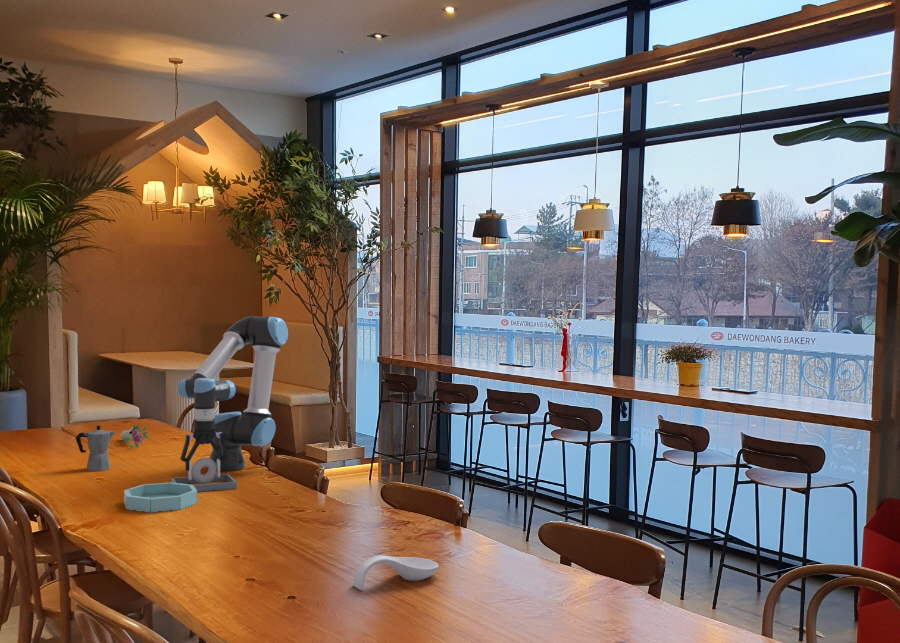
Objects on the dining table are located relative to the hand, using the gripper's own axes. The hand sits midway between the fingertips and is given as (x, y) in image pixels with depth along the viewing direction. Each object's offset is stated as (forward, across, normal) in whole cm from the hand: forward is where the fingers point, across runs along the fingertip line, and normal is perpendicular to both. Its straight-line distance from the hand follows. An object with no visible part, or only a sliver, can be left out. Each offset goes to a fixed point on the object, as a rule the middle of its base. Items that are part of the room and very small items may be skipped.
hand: (204, 477), depth 314 cm
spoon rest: (+3, +27, -124) cm, 127 cm away
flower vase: (+4, -16, +98) cm, 99 cm away
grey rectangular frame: (+3, 0, 0) cm, 3 cm away
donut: (+2, 0, 0) cm, 2 cm away
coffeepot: (+4, -35, +47) cm, 59 cm away
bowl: (+3, -18, -20) cm, 27 cm away
